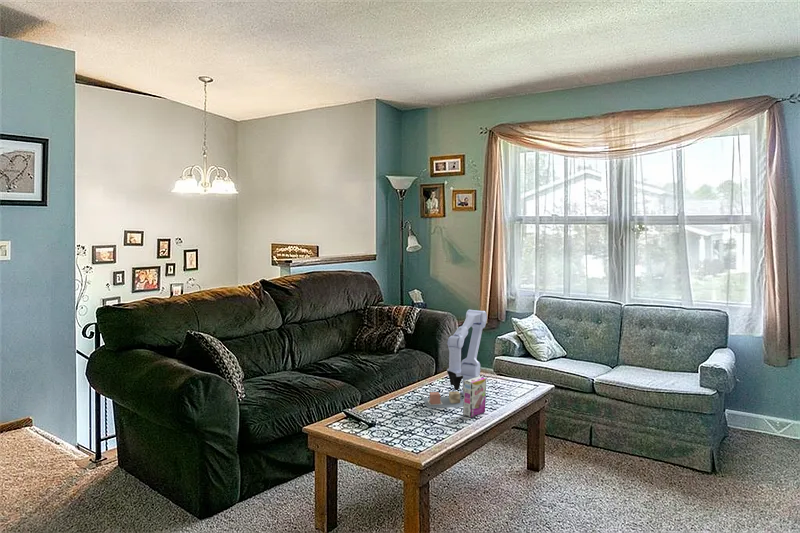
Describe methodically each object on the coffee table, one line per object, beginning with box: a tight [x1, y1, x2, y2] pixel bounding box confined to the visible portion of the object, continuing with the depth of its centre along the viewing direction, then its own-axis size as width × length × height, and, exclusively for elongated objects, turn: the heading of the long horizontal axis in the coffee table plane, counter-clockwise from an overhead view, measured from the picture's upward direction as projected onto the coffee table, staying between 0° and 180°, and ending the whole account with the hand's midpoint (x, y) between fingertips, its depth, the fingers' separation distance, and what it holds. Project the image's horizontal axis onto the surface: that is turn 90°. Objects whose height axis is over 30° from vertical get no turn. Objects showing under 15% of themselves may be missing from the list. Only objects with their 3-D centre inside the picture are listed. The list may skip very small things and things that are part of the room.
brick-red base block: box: [429, 391, 441, 404], centre depth 273 cm, size 4×4×4 cm
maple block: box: [448, 390, 461, 403], centre depth 274 cm, size 4×4×4 cm
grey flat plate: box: [421, 396, 464, 409], centre depth 274 cm, size 20×16×1 cm
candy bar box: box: [462, 376, 487, 418], centre depth 257 cm, size 11×5×16 cm, turn 134°
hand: (454, 387), depth 274 cm, fingers open, 7 cm apart
